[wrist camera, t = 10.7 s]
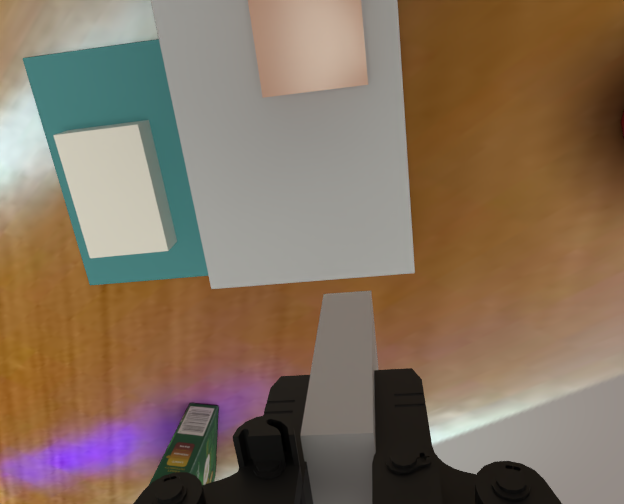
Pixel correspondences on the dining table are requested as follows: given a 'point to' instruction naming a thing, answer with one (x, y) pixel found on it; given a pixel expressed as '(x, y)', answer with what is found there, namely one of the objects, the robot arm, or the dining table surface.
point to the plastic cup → (622, 124)
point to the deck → (288, 153)
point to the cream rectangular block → (117, 189)
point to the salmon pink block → (308, 45)
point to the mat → (116, 110)
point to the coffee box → (193, 445)
